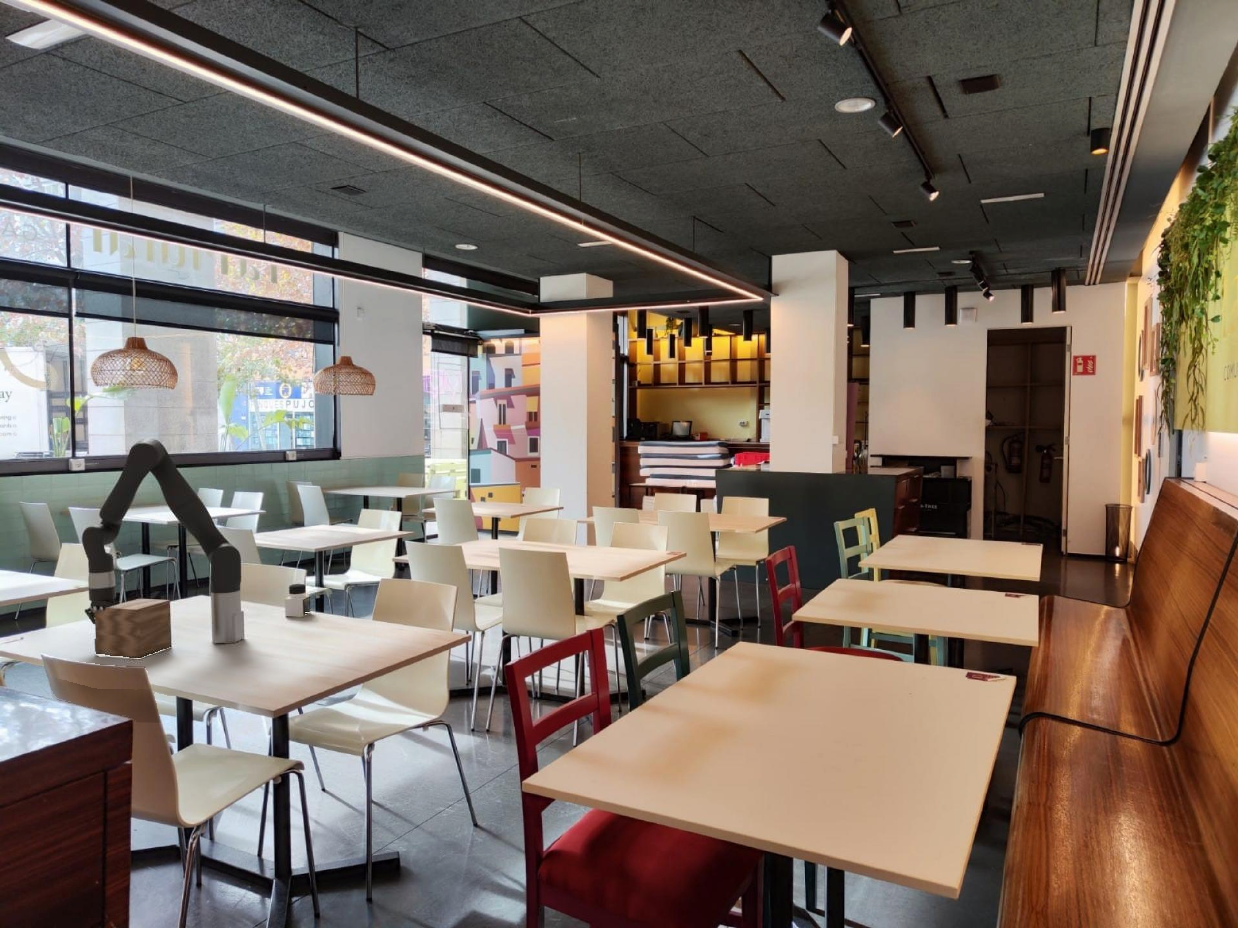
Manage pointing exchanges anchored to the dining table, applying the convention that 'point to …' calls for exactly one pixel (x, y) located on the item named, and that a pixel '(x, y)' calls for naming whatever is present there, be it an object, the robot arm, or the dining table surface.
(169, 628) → the walnut box
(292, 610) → the medicine bottle
